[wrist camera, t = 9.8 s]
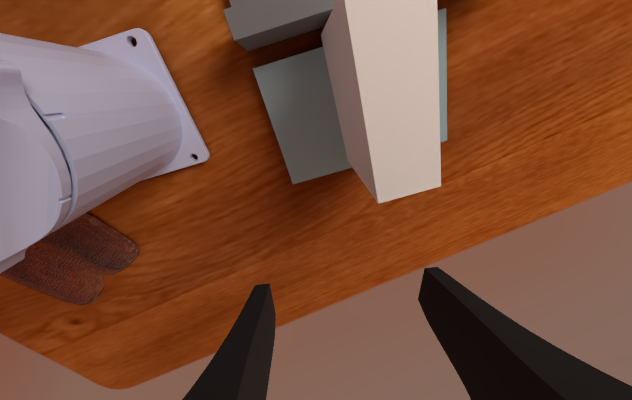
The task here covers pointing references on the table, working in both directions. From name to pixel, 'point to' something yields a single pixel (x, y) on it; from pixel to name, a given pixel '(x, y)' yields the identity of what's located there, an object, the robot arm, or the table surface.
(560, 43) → the table surface
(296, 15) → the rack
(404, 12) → the white rectangular block
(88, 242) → the wooden tablet
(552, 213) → the table surface
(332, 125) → the mat
